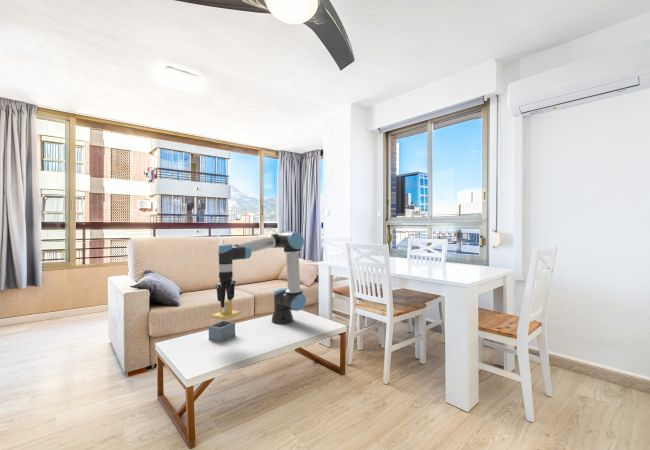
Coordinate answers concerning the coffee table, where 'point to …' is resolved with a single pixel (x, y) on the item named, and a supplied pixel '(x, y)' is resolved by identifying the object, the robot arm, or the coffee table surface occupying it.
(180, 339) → the coffee table surface
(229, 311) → the lid
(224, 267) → the robot arm
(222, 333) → the box
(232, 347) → the coffee table surface
